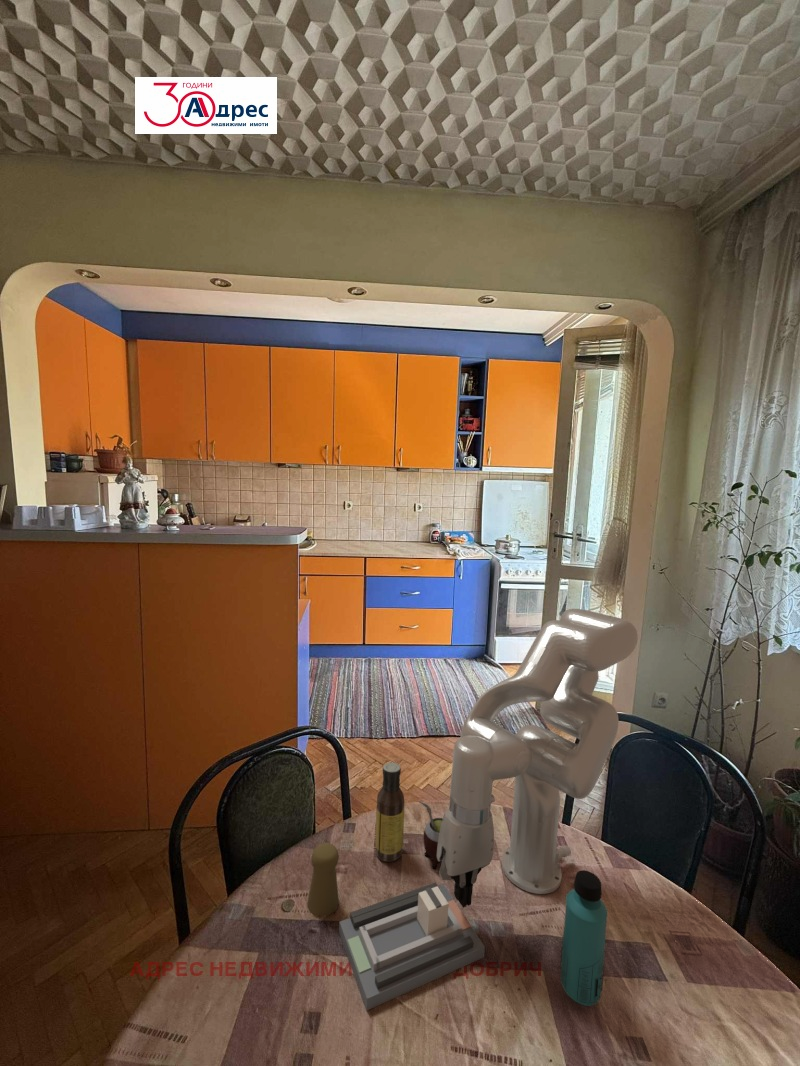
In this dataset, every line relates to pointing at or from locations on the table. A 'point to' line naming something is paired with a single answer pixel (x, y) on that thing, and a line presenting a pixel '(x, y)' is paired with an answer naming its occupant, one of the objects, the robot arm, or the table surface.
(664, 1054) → the table surface
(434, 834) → the mate gourd
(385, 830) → the sauce bottle
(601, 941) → the beverage bottle
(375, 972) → the panel
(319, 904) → the olive brown pawn
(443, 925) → the toggle
